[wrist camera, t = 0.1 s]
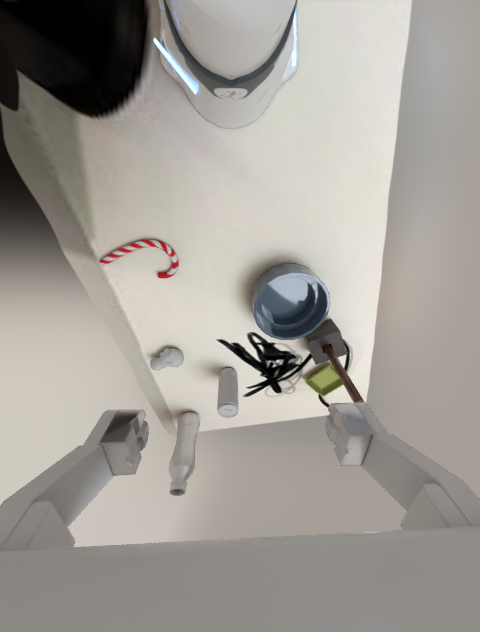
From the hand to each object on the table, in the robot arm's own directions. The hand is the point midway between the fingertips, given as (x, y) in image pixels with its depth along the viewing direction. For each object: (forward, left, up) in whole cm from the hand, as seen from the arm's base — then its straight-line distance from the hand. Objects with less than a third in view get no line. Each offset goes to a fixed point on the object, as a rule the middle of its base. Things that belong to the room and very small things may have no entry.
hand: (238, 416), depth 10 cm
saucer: (+38, +26, -39) cm, 60 cm away
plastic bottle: (+54, -13, -39) cm, 68 cm away
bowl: (+13, +12, -39) cm, 42 cm away
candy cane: (+5, -18, -39) cm, 43 cm away
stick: (+24, +22, -39) cm, 50 cm away
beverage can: (+36, -1, -39) cm, 53 cm away
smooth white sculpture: (+29, -16, -39) cm, 51 cm away
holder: (+24, +22, -39) cm, 50 cm away
